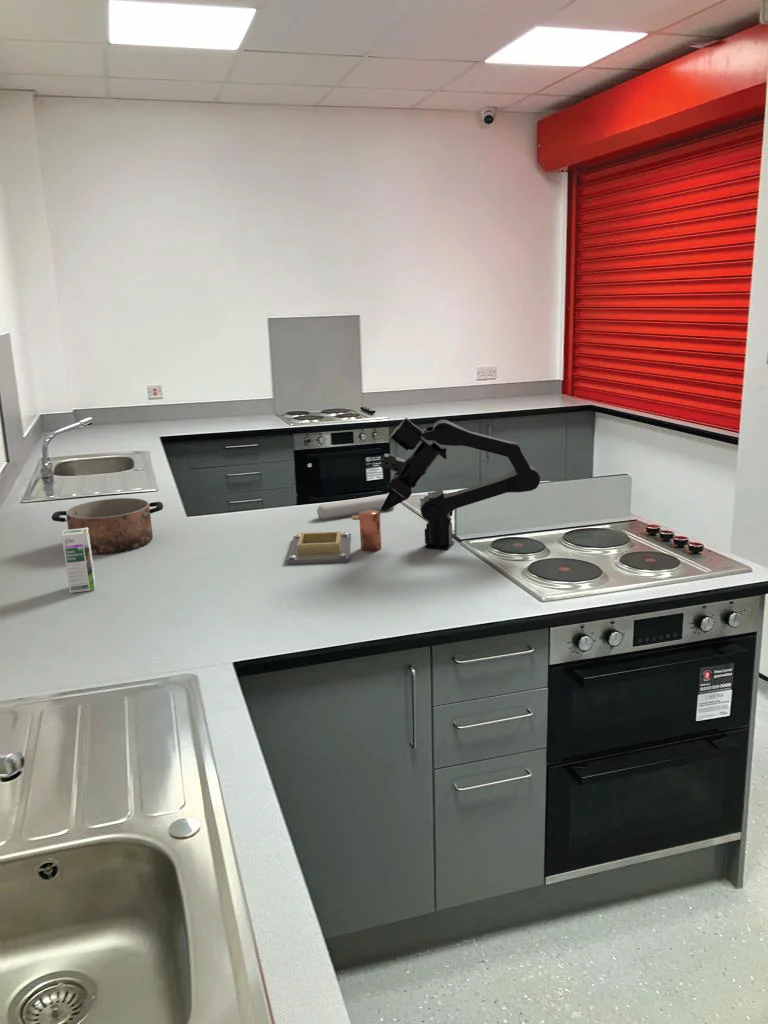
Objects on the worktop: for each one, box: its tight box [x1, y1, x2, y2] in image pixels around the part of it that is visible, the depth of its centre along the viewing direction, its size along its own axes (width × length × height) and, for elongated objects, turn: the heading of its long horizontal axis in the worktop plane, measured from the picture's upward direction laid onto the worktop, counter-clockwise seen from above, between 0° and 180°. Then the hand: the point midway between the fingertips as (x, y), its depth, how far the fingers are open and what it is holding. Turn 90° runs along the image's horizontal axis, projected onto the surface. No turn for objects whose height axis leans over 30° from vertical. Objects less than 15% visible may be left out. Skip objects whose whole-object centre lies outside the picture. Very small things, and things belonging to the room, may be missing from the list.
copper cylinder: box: [351, 510, 382, 553], centre depth 219 cm, size 8×6×10 cm
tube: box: [316, 492, 395, 521], centre depth 255 cm, size 5×5×25 cm
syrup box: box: [61, 527, 96, 594], centre depth 196 cm, size 6×6×14 cm
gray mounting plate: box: [285, 531, 352, 566], centre depth 220 cm, size 16×22×4 cm
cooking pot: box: [51, 497, 164, 556], centre depth 233 cm, size 30×22×11 cm
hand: (384, 506), depth 218 cm, fingers open, 9 cm apart
